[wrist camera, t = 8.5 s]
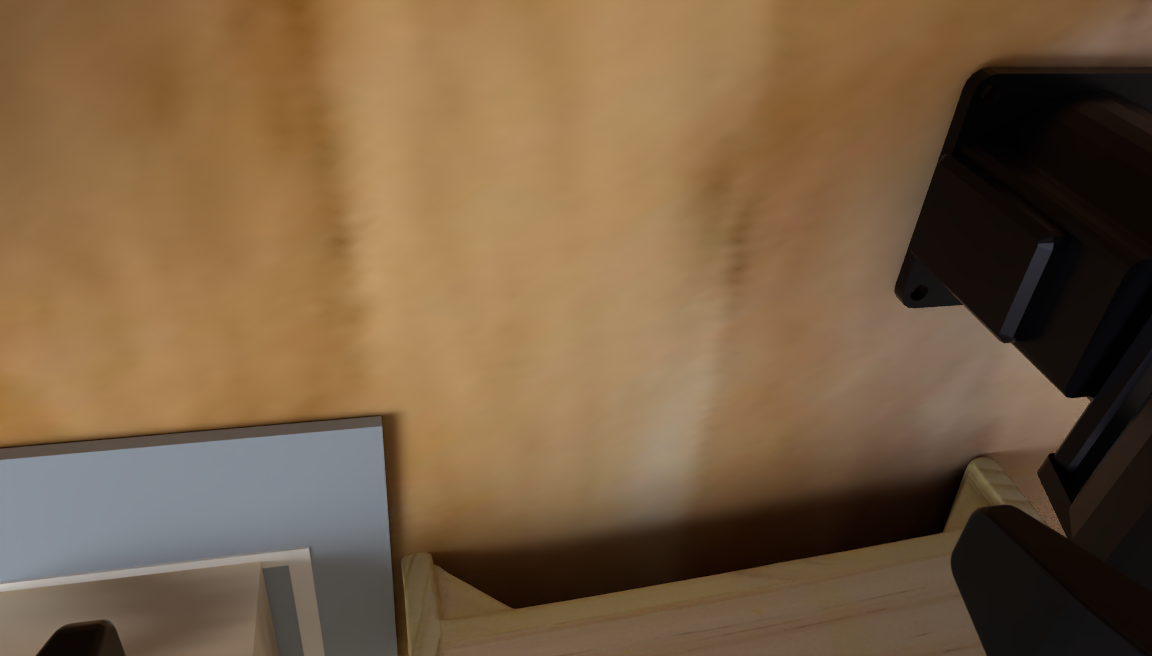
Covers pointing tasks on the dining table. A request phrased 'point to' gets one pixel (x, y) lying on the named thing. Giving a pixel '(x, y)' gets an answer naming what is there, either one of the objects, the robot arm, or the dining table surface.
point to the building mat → (217, 521)
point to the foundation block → (151, 613)
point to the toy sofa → (733, 604)
